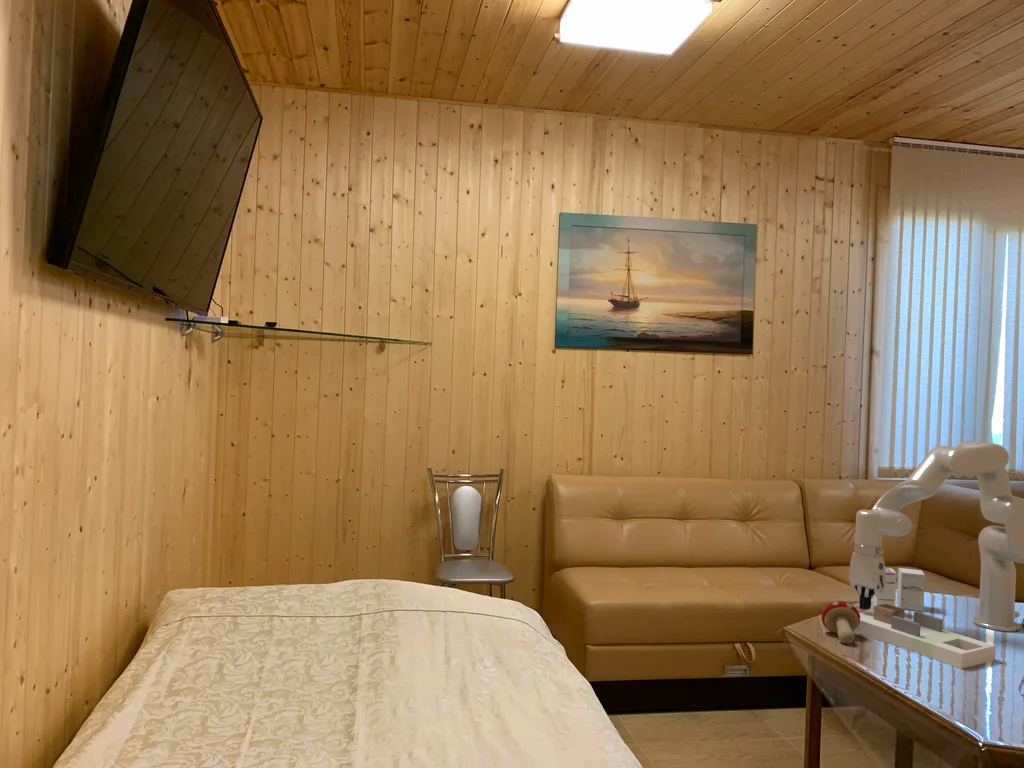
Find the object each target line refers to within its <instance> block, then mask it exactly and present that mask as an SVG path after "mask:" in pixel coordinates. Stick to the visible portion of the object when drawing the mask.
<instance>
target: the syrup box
mask: <svg viewBox="0 0 1024 768" xmlns="http://www.w3.org/2000/svg"><path fill="white" fill-rule="evenodd" d="M885 576H886V582H885V587H884V588H882V591H883V593H882V594H875V595H873V599H872V600H873V601H872V609H873V610H874V606H877V605H883V604H889V605H892V606H896V602H897V597H896V596H897V593H896V592H897V591H896V590H897V581H896V579H897V572H896V571H895V570H894V569H893V568H892V567H886V566H885Z"/></svg>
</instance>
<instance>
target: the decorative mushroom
mask: <svg viewBox="0 0 1024 768" xmlns="http://www.w3.org/2000/svg"><path fill="white" fill-rule="evenodd" d="M859 613H860V612H859V610H858V608H856V607H855V605H854V604H852V603H850V602H847V601H845V600H844V601H843V600H837V601H836V600H835V601H832V602H830V603H829V604H827V605H826V606H825V607H824V608H823V610H822V611H821V615H820V617H821V618H820V620H821V622H822V625H823V626H824V627H825V628H826V629H827V630H828V631H830V632H832V633H834V634H837V636H838V640H839V641H840V642H841V643H843V644H845V645H850V644H852V643H853V641H854V640H855V639H856V638H855V632H854V631H853V630H855V629H856V628H857V626H858V625H859V623H860V614H859Z"/></svg>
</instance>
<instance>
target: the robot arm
mask: <svg viewBox="0 0 1024 768" xmlns="http://www.w3.org/2000/svg"><path fill="white" fill-rule="evenodd" d="M1009 454H1010V453H1009V452H1008V450H1007V449H1006V448H1005V447H1004V446H1002V445H1001V444H998V443H991V442H986V441H985V442H984V441H978V440H964V441H962V442H959V444H957V446H956V447H955V446H949V445H938V446H935V447H933V448H932V449H931V450H930V451H928V453H927V454H926V456H925V457H924V458H923V459H922V461H920V463H919V464H918V465H917V466H916V467H915V469H914V470H913V472H912V473H911V474H910V476H908V478H907V479H906V480H904V481H902V482H900V483H899V484H897V485H896V486H894V487H892V488H891V489H889V490H888V491H886V492H885V493H883V495H882V496H881V497H880V498H879V499H878V501H877V502H876V503H875V504H874V505H873V506H872V508H871V509H859V510H858V511H856V515H855V528H854V529H855V531H854V551H853V552H852V554H851V558H850V562H849V570H848V575H849V576H848V579H849V586H851V587H852V588H854V589H855V590H856V591H857V595H858V596H859V600H858V601H859V607H858V608H859V609H860V610H864V611H866V610H870V609H871V606H872V597H873V595H875V594H882V593H883V591H882V588H884V587H885V582H886V576H885V567H886V565H885V558H884V557H883V556H882V555H884V553H885V551H884V549H882V537H883V535H885V536H893V537H904V536H906V535H907V534H908V533H910V531H911V529H912V521H911V520H910V518H909V517H908V515H906V514H904V513H902V512H900V510H901V509H903V508H905V506H907V505H910V504H912V503H915V502H919V501H923V500H927V499H929V498H931V497H933V496H934V495H935V494H936V492H937V491H938V490H939V489H940V488H941V486H942V484H943V483H944V482H945V481H946V480H947V479H948V477H949V476H950V475H953V476H959V477H962V476H963V477H964V476H975V477H976V478H977V482H978V489H979V501H980V502H979V504H980V512H981V515H982V516H983V517H984V519H985V520H987V521H990V522H991V523H995V524H999V525H988V526H986V527H984V528H982V529H981V531H980V532H979V534H978V541H977V542H978V548H979V554H980V578H979V581H980V583H979V584H980V585H979V605H978V615H975V616H974V617H973V619H972V622H973V623H974V624H976V625H977V626H979V627H982V628H986V629H989V630H993V631H1001V632H1017V631H1016V630H1018V631H1019V630H1020V627H1021V626H1020V624H1019V623H1017V622H1016V621H1015V619H1016V618H1020V617H1021V616H1020V615H1021V614H1020V612H1019V611H1017V610H1016V611H1015V607H1016V601H1015V600H1016V583H1017V582H1016V581H1017V569H1016V565H1015V563H1017V564H1018V563H1019V564H1024V497H1023V498H1022V497H1020V496H1016V495H1013V493H1012V489H1011V488H1012V487H1011V483H1010V482H1011V481H1010V477H1009V474H1008V471H1007V469H1006V466H1007V465H1008V464H1009V461H1010V455H1009ZM1000 525H1001V526H1000ZM1002 525H1003V526H1002Z"/></svg>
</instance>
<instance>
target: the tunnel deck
mask: <svg viewBox="0 0 1024 768" xmlns="http://www.w3.org/2000/svg"><path fill="white" fill-rule="evenodd" d="M859 614H860V623H859V625H858V626H857V628H856V629H855V630H853V632H854V631H855V632H854V633H857V634H859V635H862V636H865V637H868V636H869V638H871V637H872V638H871V639H874V638H875V639H874V640H877V639H878V641H880V642H883V643H885V642H886V644H888V643H889V644H888V645H891V644H892V645H891V646H894V645H895V646H894V647H897V646H899V647H898V648H900V647H901V648H900V649H903V648H904V650H905V649H907V650H906V651H908V650H910V651H909V652H911V651H913V652H912V653H914V652H917V653H920V654H922V655H921V656H923V655H925V656H928V657H931V658H933V659H932V660H934V659H936V660H935V661H937V660H939V661H938V662H940V661H941V662H940V663H943V662H945V663H947V664H946V665H948V664H950V665H949V666H951V665H953V666H952V667H954V666H955V667H954V668H957V667H958V668H957V669H960V670H961V669H965V668H970V667H974V666H977V665H981V664H982V665H983V664H984V663H985V664H986V663H990V662H992V661H993V662H994V661H995V660H996V651H997V650H996V646H997V645H994V644H991V643H988V642H985V641H981V640H978V639H975V638H972V637H968V636H965V635H962V634H960V633H959V634H958V633H956V632H952V631H950V630H947V629H943V626H944V625H943V621H944V619H943V618H941V617H940V618H939V617H937V616H933V615H930V614H926V613H922V612H921V611H914V612H913V619H911V618H908V617H906V616H904V619H903V618H900V617H897V616H892V621H891V625H890V624H887V623H884V622H881V621H878V620H875V619H874V609H873V610H869V611H863V612H859ZM917 653H916V654H917ZM920 654H919V655H920ZM925 656H924V657H925ZM928 657H927V658H928ZM931 658H930V659H931ZM945 663H944V664H945Z"/></svg>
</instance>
